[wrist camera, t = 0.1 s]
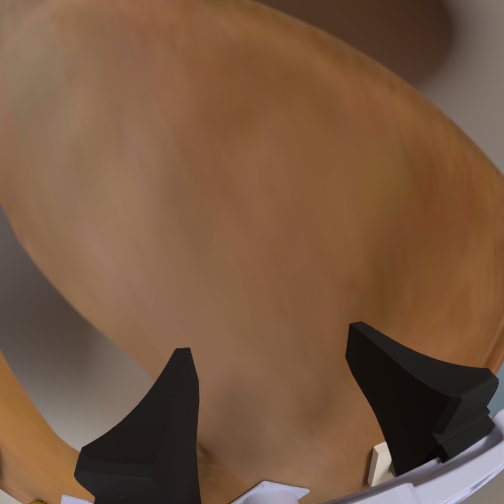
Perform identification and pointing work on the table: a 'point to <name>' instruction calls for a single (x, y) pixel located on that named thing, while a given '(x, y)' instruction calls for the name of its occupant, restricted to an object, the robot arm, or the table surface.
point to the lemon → (37, 502)
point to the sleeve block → (380, 465)
